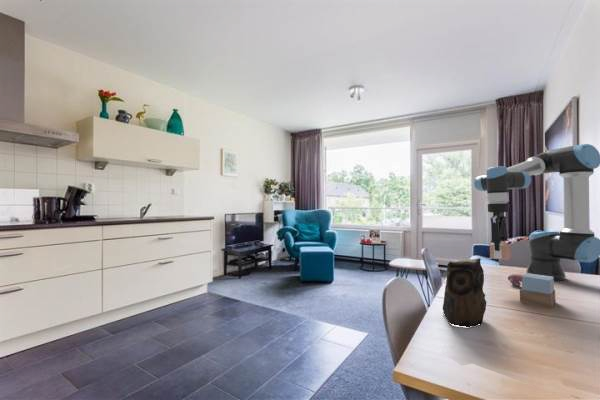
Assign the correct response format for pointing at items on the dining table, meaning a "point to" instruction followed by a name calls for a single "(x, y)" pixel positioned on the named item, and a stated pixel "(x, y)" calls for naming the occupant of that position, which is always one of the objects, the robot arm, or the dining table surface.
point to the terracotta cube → (505, 251)
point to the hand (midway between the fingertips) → (500, 257)
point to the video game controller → (515, 279)
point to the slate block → (538, 283)
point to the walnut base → (537, 298)
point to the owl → (464, 293)
